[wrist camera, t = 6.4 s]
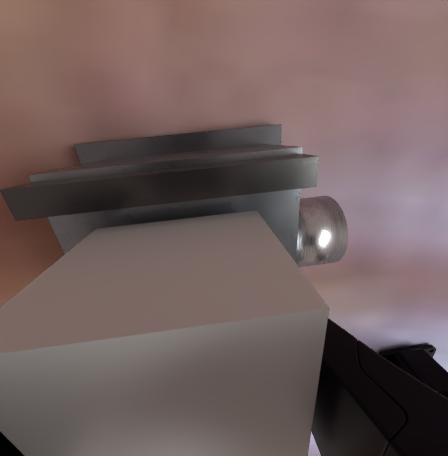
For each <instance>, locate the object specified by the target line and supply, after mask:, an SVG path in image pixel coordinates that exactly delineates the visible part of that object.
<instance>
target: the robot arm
mask: <svg viewBox="0 0 448 456" xmlns="http://www.w3.org/2000/svg"><path fill="white" fill-rule="evenodd" d="M435 351H436V348H435V347H434V346H433V345H424V346H417V347H410V348H404V349H397V350H390V351H384V352H380V353H379V354H378V353H376V352H375V351H373V350H372V349H371V348H369V347H368V346H366V345H365V344H364V343H362V342H361V341H359V340H358V341H357V339H356V338H355V337H354V336H352V335H351V334H349V333H348V332H347V331H345V330H344V329H342V328H341V327H340V326H338V325H337V324H336V323H334V322H333V321H331V320H330V319H329V318H328V321H327V328H326V335H325V341H324V348H323V355H322V362H321V368H320V375H319V382H318V389H317V396H316V402H315V409H314V416H313V423H312V429H311V431H312V434H313V436H314V439H315V441H316V444H317V446H318V449H319V451H320V454H321V456H448V372H447V371H446V370H445V369H444V368H443V367H442V366H441V365H439V364H438V363H437V362H436V361H435V360H434V359H433V358H432V357H433V355H434V353H435ZM0 456H24V455H23V454H22V453H21V452H20V451H19V450H18V449H17V448H16V447H15V446H14V445H13V444H12V443H11V442H10V441H9V440H8V439H7V438H6V437H5V436H4V435H3V434H2V433H1V432H0Z"/></svg>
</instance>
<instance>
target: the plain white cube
mask: <svg viewBox="0 0 448 456" xmlns="http://www.w3.org/2000/svg"><path fill="white" fill-rule="evenodd" d="M328 314H329V307H328V306H327V304H326V303H325V302H324V300H323V299H322V298H321V296H320V295H319V294H318V292H317V291H316V290H315V288H314V287H313V285H312V284H311V283H310V281H309V280H308V279H307V277H306V276H305V275H304V273H303V272H302V271H301V269H300V268H299V267H298V265H297V264H296V263H295V261H294V260H293V259H292V257H291V256H290V254H289V253H288V252H287V250H286V249H285V248H284V246H283V245H282V244H281V242H280V241H279V240H278V238H277V237H276V236H275V234H274V233H273V232H272V230H271V229H270V228H269V226H268V225H267V223H266V222H265V221H264V219H263V218H262V217H261V215H260V214H259V213H258V211H257V210H255V211H246V212H238V213H229V214H220V215H212V216H203V217H194V218H185V219H177V220H168V221H159V222H151V223H142V224H133V225H125V226H116V227H107V228H99V229H95V230H94V231H93V232H92V233H90V234H89V235H88V236H87V237H86V238H84V239H83V240H82V241H81V242H79V243H78V244H77V245H76V246H75V247H73V248H72V249H71V250H70V251H69V252H67V253H66V254H65V255H64V256H62V257H61V258H60V259H59V260H58V261H56V262H55V263H54V264H53V265H51V266H50V267H49V268H48V269H47V270H45V271H44V272H43V273H42V274H40V275H39V276H38V277H37V278H36V279H34V280H33V281H32V282H31V283H29V284H28V285H27V286H26V287H25V288H23V289H22V290H21V291H20V292H18V293H17V294H16V295H15V296H14V297H12V298H11V299H10V300H9V301H7V302H6V303H5V304H4V305H3V306H1V307H0V432H1V433H2V434H3V435H4V436H5V437H6V438H7V439H8V440H9V441H10V442H11V443H12V444H13V445H14V446H15V447H16V448H17V449H18V450H19V451H20V452H21V453H22V454H23V455H24V456H308V450H309V443H310V436H311V429H312V423H313V416H314V409H315V402H316V396H317V389H318V382H319V375H320V368H321V362H322V355H323V348H324V341H325V335H326V328H327V321H328Z"/></svg>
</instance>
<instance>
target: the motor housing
mask: <svg viewBox="0 0 448 456" xmlns="http://www.w3.org/2000/svg"><path fill="white" fill-rule="evenodd" d="M74 147H75V149H76V152H77V155H78V158H79V161H80V164H81V165H76V166H72V167H67V168H62V169H57V170H52V171H47V172H42V173H37V174H32V175H28V177H29V179H30V181H31V183H27V184H23V185H19V186H15V187H11V188H7V189H3V190H0V192H1V194H2V196H3V197H4V199H5V201H6V203H7V205H8V207H9V209H10V211H11V212H12V214H13V216H14V218H15V220H16V221H17V220H26V219H35V218H44V217H47V218H48V220H49V222H50V224H51V226H52V228H53V231H54V233H55V235H56V237H57V239H58V241H59V244H60V246H61V248H62V250H63V252H64V254H66V253H67V252H69V251H70V250H71V249H72V248H73V247H75V246H76V245H77V244H78V243H79V242H81V241H82V240H83V239H84V238H86V237H87V236H88V235H89V234H90V233H92V232H93V231H94V230H95V229H99V228H107V227H116V226H125V225H133V224H142V223H151V222H159V221H168V220H177V219H185V218H194V217H203V216H212V215H220V214H229V213H238V212H246V211H255V210H257V211H258V213H259V214H260V215H261V217H262V218H263V219H264V221H265V222H266V223H267V225H268V226H269V228H270V229H271V230H272V232H273V233H274V234H275V236H276V237H277V238H278V240H279V241H280V242H281V244H282V245H283V246H284V248H285V249H286V250H287V252H288V253H289V254H290V256H291V257H292V259H293V260H294V261H295V263H296V264H297V265H298V267H305V266H313V265H320V264H328V263H335V262H338V261H340V260H341V259H342V257H343V256H344V254H345V252H346V249H347V244H348V229H347V223H346V219H345V216H344V214H343V211H342V209H341V207H340V206H339V204H338V203H337V202H336V201H335V200H334V199H333V198H331V197H329V196H319V197H310V198H302V199H300V189H301V188H310V187H316V183H317V172H318V161H319V156H313V155H306V154H302V149H303V147H297V146H284V145H281V124H279V125H269V126H258V127H248V128H238V129H228V130H218V131H208V132H197V133H187V134H177V135H167V136H157V137H146V138H136V139H126V140H116V141H106V142H95V143H85V144H75V145H74Z"/></svg>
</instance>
